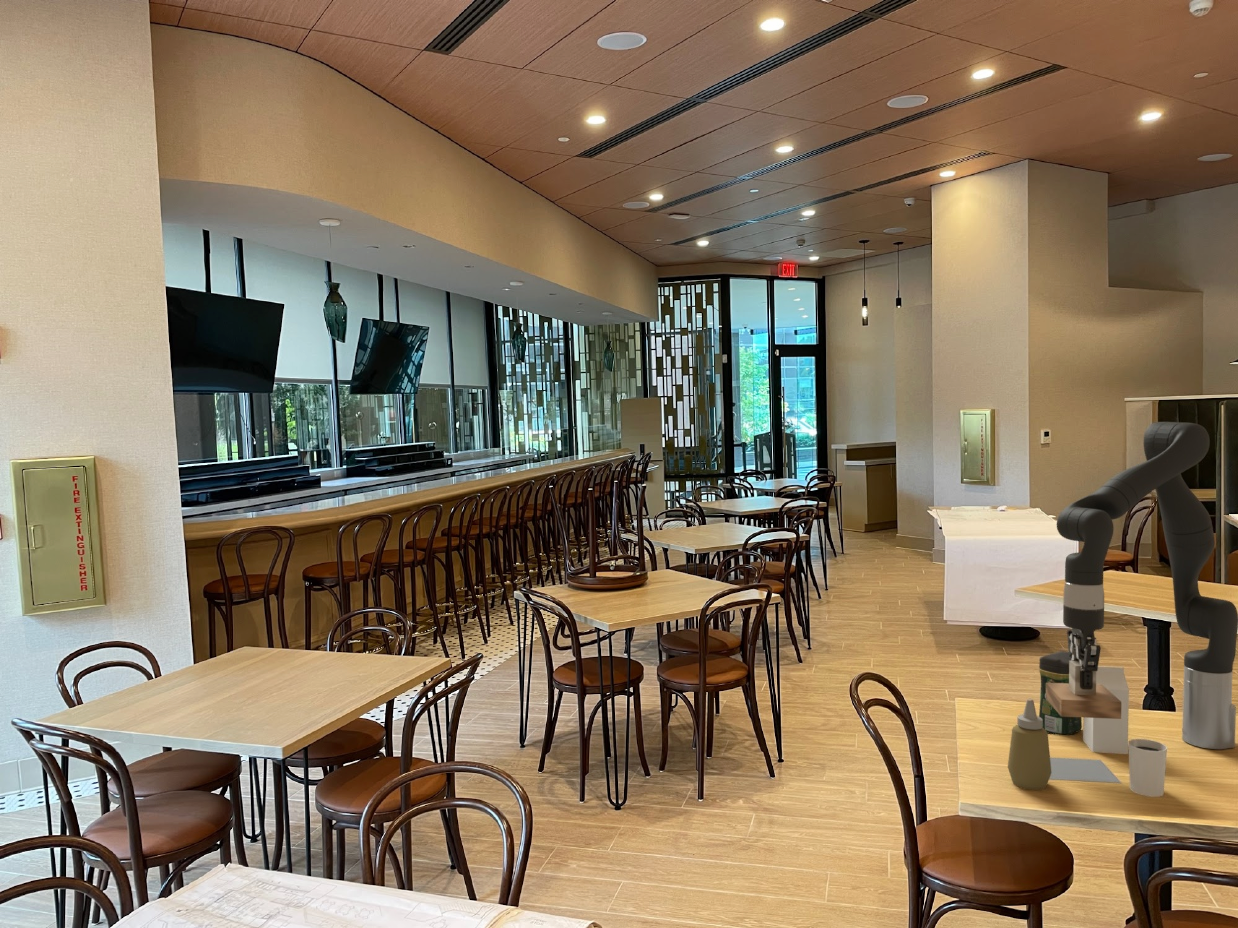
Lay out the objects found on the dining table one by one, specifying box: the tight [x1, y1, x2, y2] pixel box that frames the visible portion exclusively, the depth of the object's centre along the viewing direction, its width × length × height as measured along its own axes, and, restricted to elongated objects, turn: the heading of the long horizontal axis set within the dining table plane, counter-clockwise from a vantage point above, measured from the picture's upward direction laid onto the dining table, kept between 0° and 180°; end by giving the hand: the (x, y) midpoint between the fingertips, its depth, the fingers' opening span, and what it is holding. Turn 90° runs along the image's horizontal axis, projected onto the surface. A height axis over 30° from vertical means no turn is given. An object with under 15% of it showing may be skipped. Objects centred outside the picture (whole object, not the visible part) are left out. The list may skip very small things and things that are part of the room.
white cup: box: [1128, 738, 1168, 798], centre depth 176 cm, size 7×7×10 cm
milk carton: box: [1082, 665, 1130, 755], centre depth 199 cm, size 7×7×19 cm
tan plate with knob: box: [1046, 661, 1121, 719], centre depth 185 cm, size 11×11×10 cm
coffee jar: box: [1038, 650, 1083, 736], centre depth 212 cm, size 10×8×19 cm
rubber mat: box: [1049, 756, 1122, 784], centre depth 187 cm, size 14×12×1 cm
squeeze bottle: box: [1007, 698, 1052, 791], centre depth 180 cm, size 8×8×18 cm
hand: (1082, 684), depth 185 cm, fingers closed on tan plate with knob, 4 cm apart
